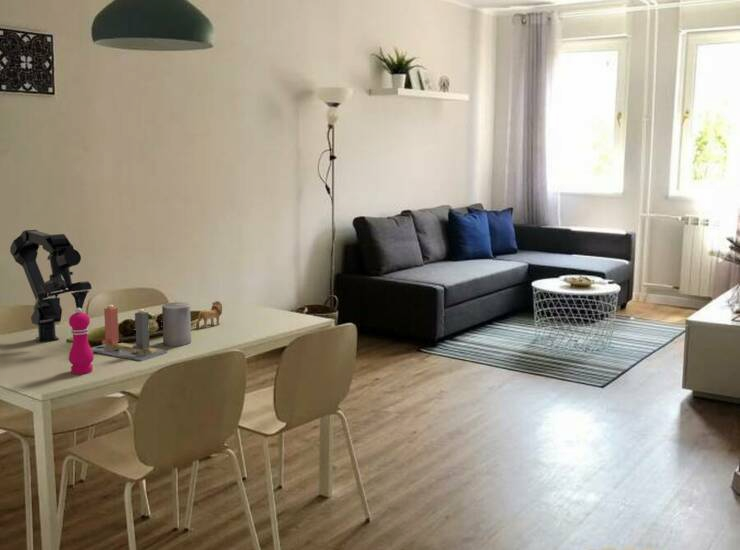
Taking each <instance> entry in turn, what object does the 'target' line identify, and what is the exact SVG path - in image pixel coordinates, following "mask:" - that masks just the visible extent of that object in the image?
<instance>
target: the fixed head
mask: <svg viewBox="0 0 740 550" xmlns="http://www.w3.org/2000/svg"><path fill="white" fill-rule="evenodd" d="M134 321H135V322H134V323H135V324H134V325H135V329H134V330H136V334H135V344H134V346H133V349H134V353H136V349H146V348H149V347H150V330H149V325H150V324H149V312H147V311H145V309H138V311H137V312H134Z"/></svg>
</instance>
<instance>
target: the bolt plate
mask: <svg viewBox="0 0 740 550" xmlns="http://www.w3.org/2000/svg"><path fill="white" fill-rule="evenodd" d="M134 345H135V344H133V343H127V342H121V343H115V344H108V343H107V344H106V347H105V348H104V347H103V344H100V345H97V346H93V347H91V349H92V352H97V353H96V354H99V353H102V354H101V355H104V354H107V355H106V356H110V355H112V357H116V356H117V358H121V357H122V358H121V359H127V358H128V360H133V359H134V361H138V360H139V361H140V362H143V361H145V360H148V359H152V358H155V357H158V356H161V355H164V354H167V353H168V350H167V349H163V348H158V347H151V346H149V348H146V349H136V353H134V349H133V346H134Z"/></svg>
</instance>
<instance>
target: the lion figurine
mask: <svg viewBox="0 0 740 550" xmlns="http://www.w3.org/2000/svg"><path fill="white" fill-rule="evenodd" d="M222 313H223V303H222V302H221V301H220V300H215V301H213V302H212V306H211V308H210V309H209V310H207V309H206V310H205V309H204V310H202V309H201V311H200V312H199V313H198V317H197V321H196V322H195V328H196V329H200V322H201V321H203V325H204V327H205V328H206V329H208V328H210V325H215V321H214V319H215V320H216V325H217V326H220V325H221V323H220V316H222ZM208 320H210V325H208V324H207V323H208Z"/></svg>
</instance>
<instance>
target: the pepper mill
mask: <svg viewBox="0 0 740 550" xmlns="http://www.w3.org/2000/svg"><path fill="white" fill-rule="evenodd" d="M82 311H83V308H82V309H81V308H76V309H75V313H73V314H72V315H70V317H69V318H68V324H69V326H70V327H71V330H70V331H71V335H72V344H71V345H72V346H71V348H70V351H69V355H68V362H69V363H70V365H71V366H70V372H72V374H73V373H74V374H73V375H84V374H83V373H86V374H89V373H88V372H90V373H92V372H93V371H92V370H93V364H92V362H93V361H94V359H95V356H94V353H93V352H92V349H91V348H92V347H91V346H90V343H89V339H88V333H89V328H88V326H90V323H91V320H90V317H89V315H88V314H87V313H84V312H82ZM91 371H92V372H91Z"/></svg>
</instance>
